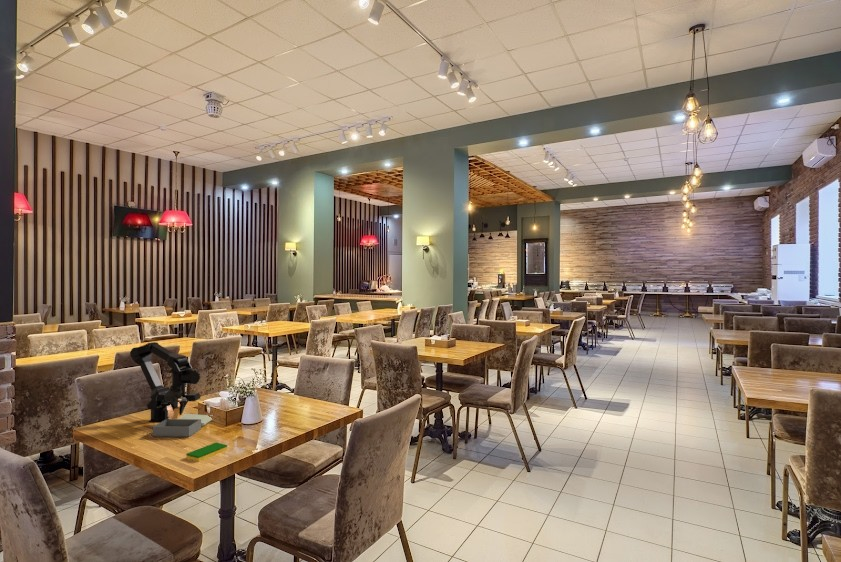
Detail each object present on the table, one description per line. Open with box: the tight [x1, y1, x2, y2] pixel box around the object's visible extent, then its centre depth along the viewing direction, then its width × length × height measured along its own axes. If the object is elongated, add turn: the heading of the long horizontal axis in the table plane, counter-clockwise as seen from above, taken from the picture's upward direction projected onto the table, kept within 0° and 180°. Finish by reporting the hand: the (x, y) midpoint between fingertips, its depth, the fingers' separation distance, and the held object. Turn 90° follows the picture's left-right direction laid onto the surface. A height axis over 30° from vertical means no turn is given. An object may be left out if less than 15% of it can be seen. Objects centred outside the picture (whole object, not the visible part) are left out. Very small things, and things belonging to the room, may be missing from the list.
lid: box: [172, 405, 213, 427], centre depth 217 cm, size 16×11×6 cm
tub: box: [152, 418, 202, 438], centre depth 203 cm, size 16×11×4 cm
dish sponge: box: [185, 442, 228, 462], centre depth 179 cm, size 7×14×2 cm, turn 155°
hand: (178, 414), depth 217 cm, fingers closed on lid
